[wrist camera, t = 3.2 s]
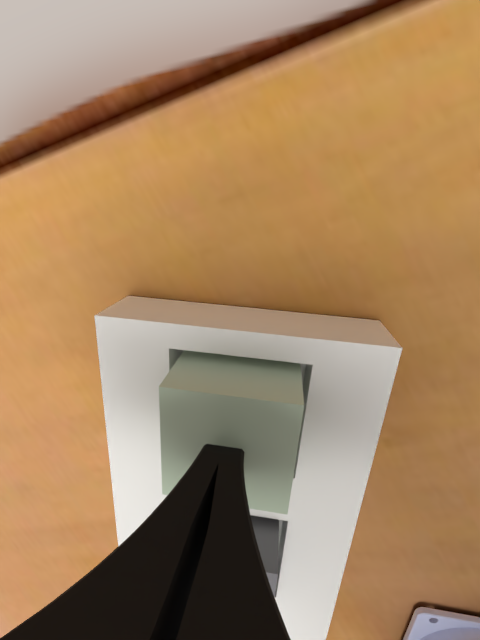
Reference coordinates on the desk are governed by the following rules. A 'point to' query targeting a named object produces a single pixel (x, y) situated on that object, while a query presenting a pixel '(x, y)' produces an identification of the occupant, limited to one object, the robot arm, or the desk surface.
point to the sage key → (234, 420)
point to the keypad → (315, 435)
